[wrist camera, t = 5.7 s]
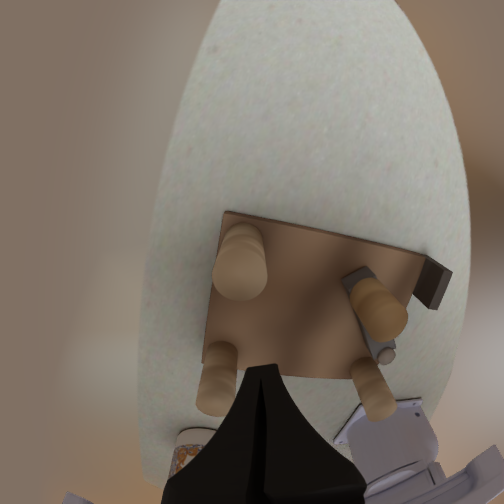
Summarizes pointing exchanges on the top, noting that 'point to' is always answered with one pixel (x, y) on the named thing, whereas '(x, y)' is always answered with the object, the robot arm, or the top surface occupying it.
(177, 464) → the bath foam
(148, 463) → the top surface
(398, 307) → the grey bar with knob
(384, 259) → the stool board
